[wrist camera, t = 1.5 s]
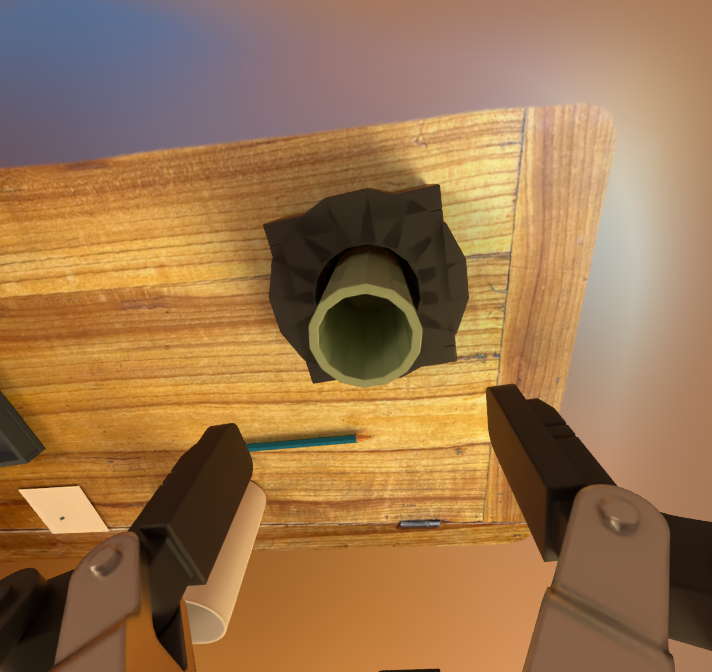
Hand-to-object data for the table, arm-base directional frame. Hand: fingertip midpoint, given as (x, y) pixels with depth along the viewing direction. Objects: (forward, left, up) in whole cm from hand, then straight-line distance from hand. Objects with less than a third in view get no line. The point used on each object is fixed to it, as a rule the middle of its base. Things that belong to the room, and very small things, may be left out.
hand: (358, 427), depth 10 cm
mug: (+22, -21, -18) cm, 35 cm away
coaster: (+21, -42, -18) cm, 50 cm away
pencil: (+15, -11, -18) cm, 25 cm away
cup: (0, 0, -18) cm, 18 cm away
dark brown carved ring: (0, 0, -17) cm, 17 cm away
